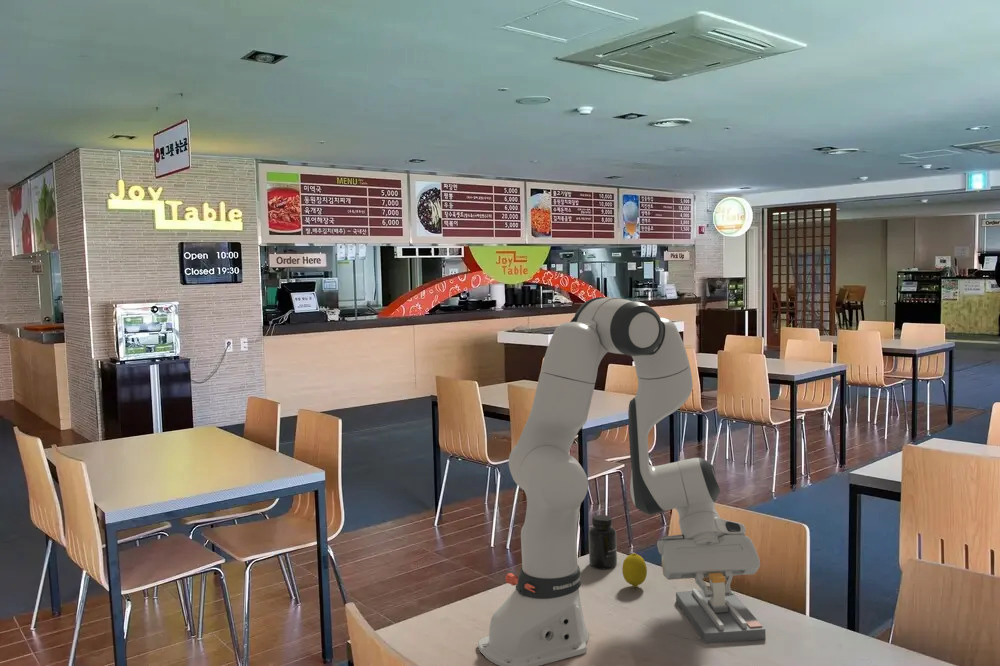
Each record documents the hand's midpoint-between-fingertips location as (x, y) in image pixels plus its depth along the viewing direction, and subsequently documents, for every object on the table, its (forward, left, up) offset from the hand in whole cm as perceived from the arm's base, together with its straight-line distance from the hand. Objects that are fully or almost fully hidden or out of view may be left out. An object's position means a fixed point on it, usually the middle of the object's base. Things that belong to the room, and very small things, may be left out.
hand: (718, 595), depth 162 cm
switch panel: (0, 0, -5) cm, 5 cm away
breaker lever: (0, +1, -3) cm, 3 cm away
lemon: (-1, +23, -5) cm, 24 cm away
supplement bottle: (+3, +38, -5) cm, 39 cm away
